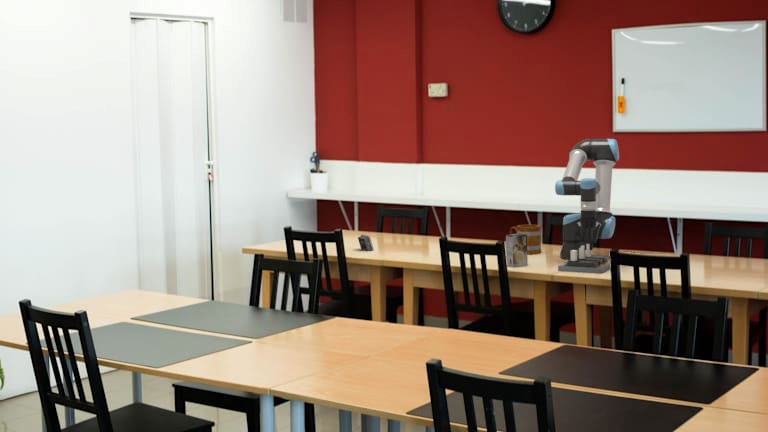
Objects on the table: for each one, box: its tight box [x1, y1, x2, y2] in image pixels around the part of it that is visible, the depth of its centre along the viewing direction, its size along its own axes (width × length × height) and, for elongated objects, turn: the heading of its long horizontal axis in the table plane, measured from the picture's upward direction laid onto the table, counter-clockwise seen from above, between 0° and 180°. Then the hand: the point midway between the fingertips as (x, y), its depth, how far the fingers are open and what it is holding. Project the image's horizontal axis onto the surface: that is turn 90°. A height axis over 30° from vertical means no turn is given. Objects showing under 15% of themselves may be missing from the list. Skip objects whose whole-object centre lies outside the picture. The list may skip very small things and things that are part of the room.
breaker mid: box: [579, 248, 586, 259], centre depth 512 cm, size 3×2×5 cm
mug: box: [509, 223, 542, 256], centre depth 565 cm, size 20×14×15 cm
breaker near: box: [570, 250, 577, 261], centre depth 505 cm, size 3×2×5 cm
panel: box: [557, 255, 611, 274], centre depth 511 cm, size 26×22×4 cm
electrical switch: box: [357, 233, 375, 252], centre depth 590 cm, size 9×5×9 cm, turn 30°
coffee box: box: [505, 233, 529, 268], centre depth 524 cm, size 9×6×16 cm
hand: (588, 256), depth 510 cm, fingers closed
